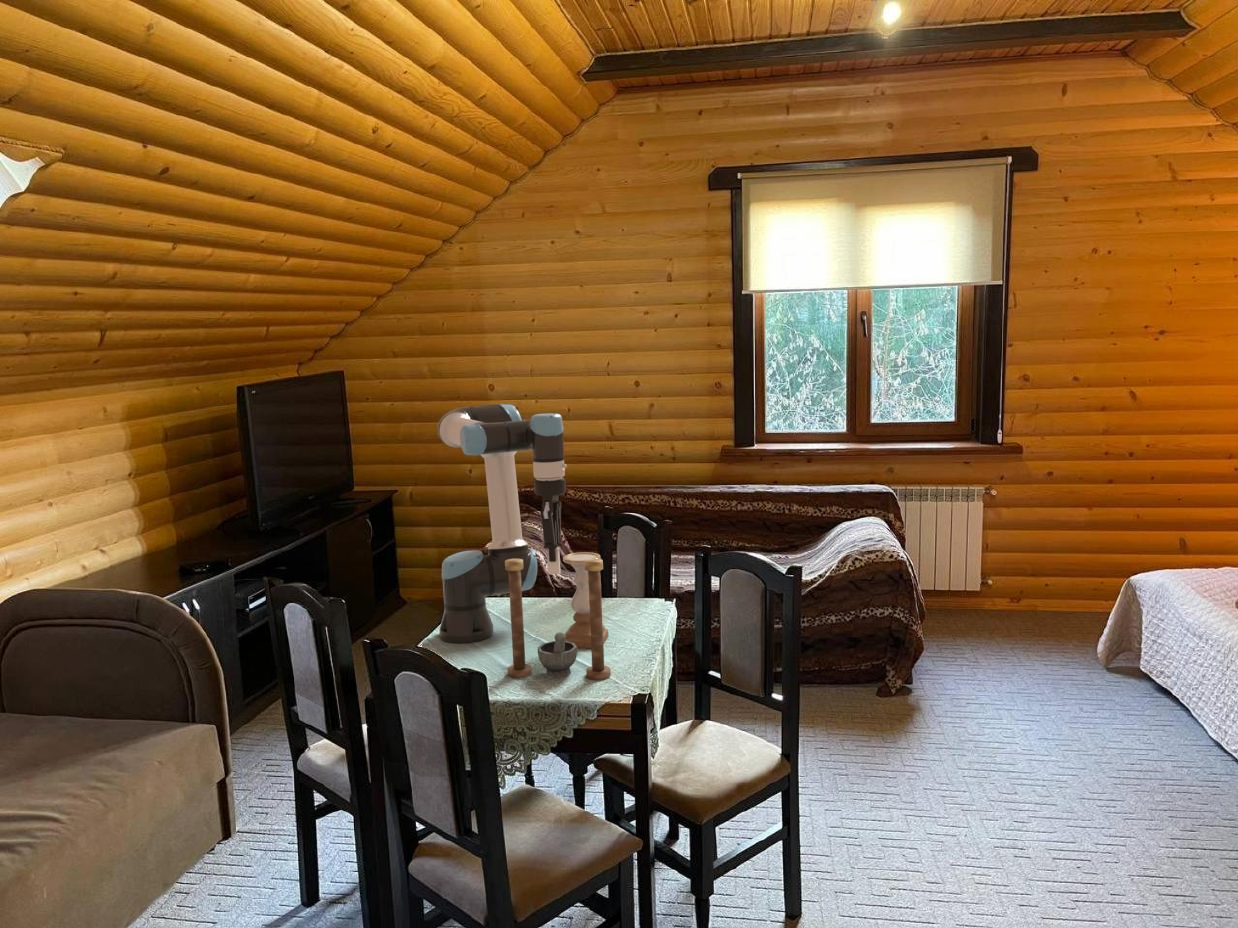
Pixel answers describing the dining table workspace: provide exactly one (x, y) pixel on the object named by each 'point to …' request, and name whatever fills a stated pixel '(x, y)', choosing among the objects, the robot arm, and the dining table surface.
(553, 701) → the dining table surface
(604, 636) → the candle holder
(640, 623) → the dining table surface
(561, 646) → the mortar and pestle
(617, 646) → the dining table surface
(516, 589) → the left candlestick
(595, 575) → the right candlestick
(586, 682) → the dining table surface
